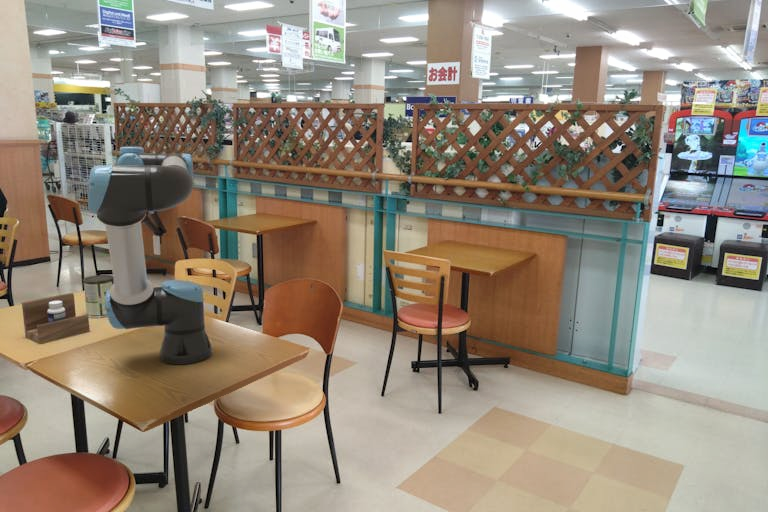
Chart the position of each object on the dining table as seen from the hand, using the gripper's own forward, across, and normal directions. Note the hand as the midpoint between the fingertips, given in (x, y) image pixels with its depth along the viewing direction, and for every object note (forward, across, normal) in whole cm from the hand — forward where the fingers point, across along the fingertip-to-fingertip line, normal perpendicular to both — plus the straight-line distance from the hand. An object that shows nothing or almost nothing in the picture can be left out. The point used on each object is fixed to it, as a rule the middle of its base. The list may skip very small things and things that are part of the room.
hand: (139, 257), depth 192 cm
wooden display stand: (+26, +19, -21) cm, 38 cm away
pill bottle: (+24, +19, -20) cm, 37 cm away
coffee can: (+26, -2, -32) cm, 41 cm away
